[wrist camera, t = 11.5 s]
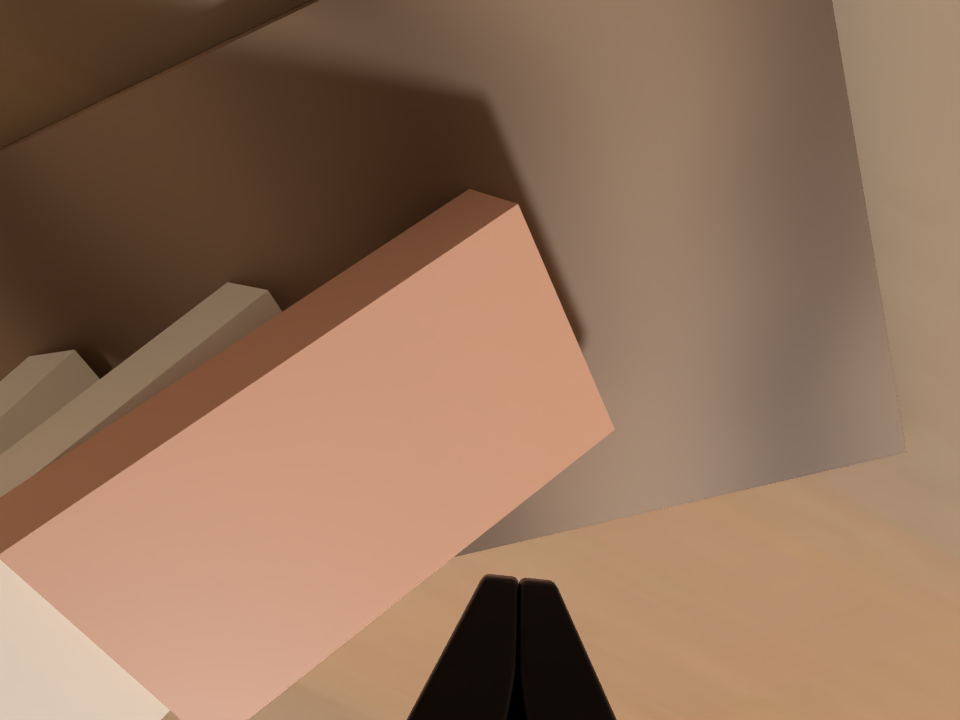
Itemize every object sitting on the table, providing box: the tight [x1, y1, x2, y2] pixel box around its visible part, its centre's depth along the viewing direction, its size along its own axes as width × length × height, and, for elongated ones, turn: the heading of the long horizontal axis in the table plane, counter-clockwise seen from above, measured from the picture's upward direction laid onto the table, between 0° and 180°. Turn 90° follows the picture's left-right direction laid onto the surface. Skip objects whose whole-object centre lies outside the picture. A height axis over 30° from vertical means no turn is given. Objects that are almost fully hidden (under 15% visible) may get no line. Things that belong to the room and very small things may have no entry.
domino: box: [0, 282, 282, 720], centre depth 14 cm, size 2×5×8 cm
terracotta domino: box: [0, 189, 615, 720], centre depth 13 cm, size 2×5×8 cm
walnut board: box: [0, 0, 906, 557], centre depth 17 cm, size 30×12×1 cm, turn 113°
